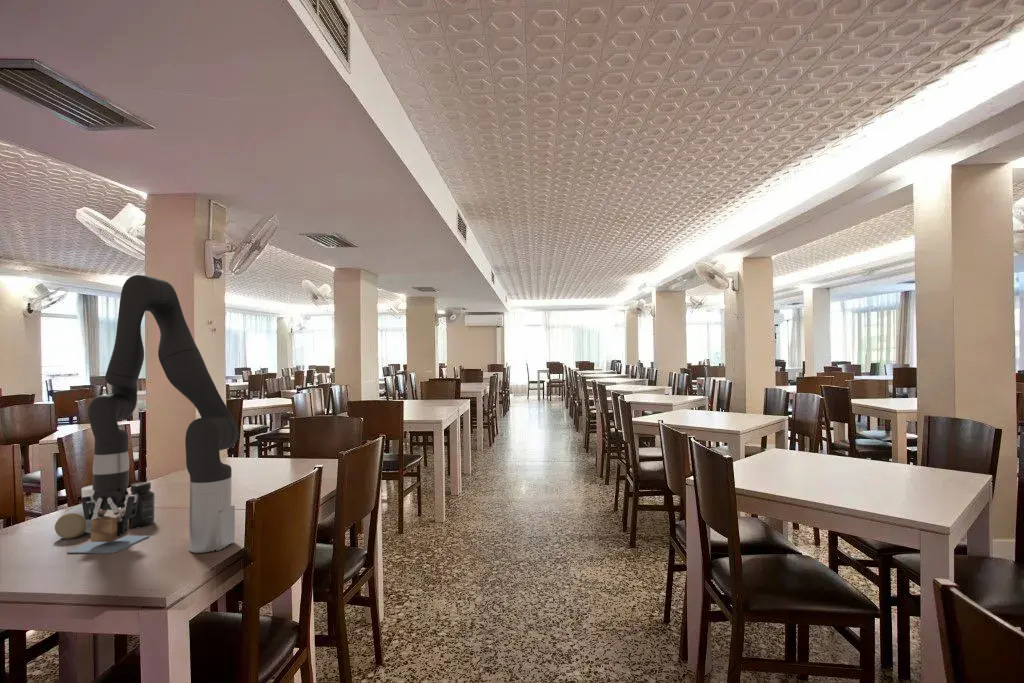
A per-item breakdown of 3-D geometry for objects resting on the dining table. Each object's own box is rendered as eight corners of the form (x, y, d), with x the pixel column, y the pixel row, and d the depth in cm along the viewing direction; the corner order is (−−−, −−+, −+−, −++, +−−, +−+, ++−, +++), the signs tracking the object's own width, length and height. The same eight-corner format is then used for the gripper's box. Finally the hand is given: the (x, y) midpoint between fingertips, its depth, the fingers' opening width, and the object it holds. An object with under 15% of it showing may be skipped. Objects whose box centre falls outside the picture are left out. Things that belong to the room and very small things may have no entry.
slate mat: (149, 537, 139) (149, 535, 139) (113, 553, 127) (113, 551, 127) (106, 537, 139) (106, 535, 139) (66, 553, 127) (66, 552, 127)
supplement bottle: (154, 519, 155) (155, 480, 155) (153, 525, 149) (154, 484, 149) (126, 524, 151) (127, 483, 152) (124, 530, 145) (125, 487, 146)
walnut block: (128, 534, 136) (128, 513, 136) (111, 541, 130) (112, 519, 130) (108, 534, 136) (108, 513, 136) (90, 541, 130) (91, 520, 130)
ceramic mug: (51, 541, 136) (53, 512, 137) (66, 532, 144) (67, 505, 144) (99, 537, 140) (101, 508, 140) (111, 528, 148) (112, 501, 148)
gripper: (148, 466, 137) (147, 530, 137) (96, 467, 138) (95, 531, 137) (126, 472, 130) (125, 540, 129) (71, 473, 130) (70, 540, 129)
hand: (110, 535), depth 133 cm, fingers closed on walnut block, 5 cm apart
